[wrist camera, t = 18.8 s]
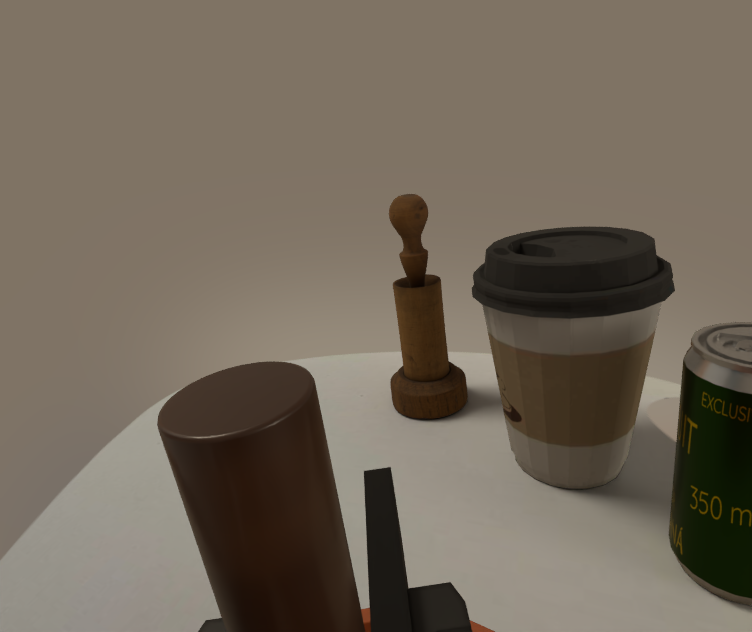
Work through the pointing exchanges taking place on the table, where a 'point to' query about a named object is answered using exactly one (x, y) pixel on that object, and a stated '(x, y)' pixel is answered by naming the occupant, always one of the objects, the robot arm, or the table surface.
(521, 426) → the coffee cup
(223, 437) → the stick
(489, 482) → the table surface
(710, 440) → the soda can
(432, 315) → the mortar and pestle
